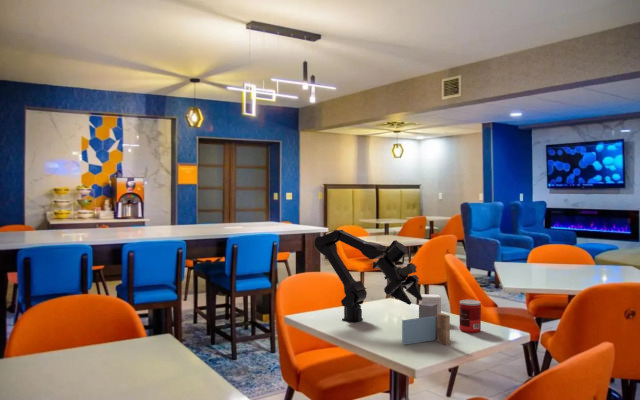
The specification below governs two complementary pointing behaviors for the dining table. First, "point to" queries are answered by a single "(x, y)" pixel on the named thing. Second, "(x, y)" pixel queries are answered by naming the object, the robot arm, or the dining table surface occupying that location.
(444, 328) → the brown wooden block
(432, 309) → the block
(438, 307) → the small box
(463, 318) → the canned food
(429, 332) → the gate
